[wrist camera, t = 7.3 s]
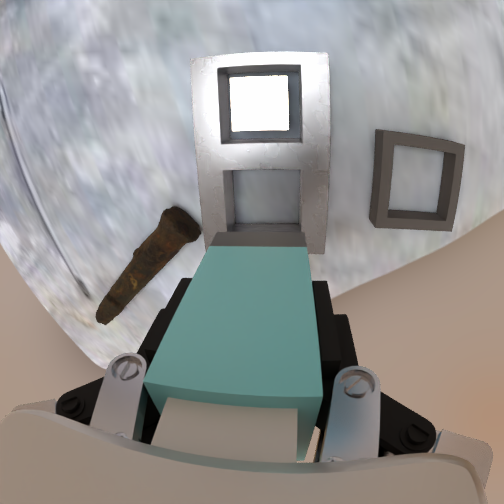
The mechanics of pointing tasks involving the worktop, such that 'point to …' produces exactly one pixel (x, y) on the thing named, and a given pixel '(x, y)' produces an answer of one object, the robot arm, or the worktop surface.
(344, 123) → the worktop surface
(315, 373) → the plug
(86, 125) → the worktop surface
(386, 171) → the dark square frame
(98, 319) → the hand tool
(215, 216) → the port
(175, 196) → the worktop surface
